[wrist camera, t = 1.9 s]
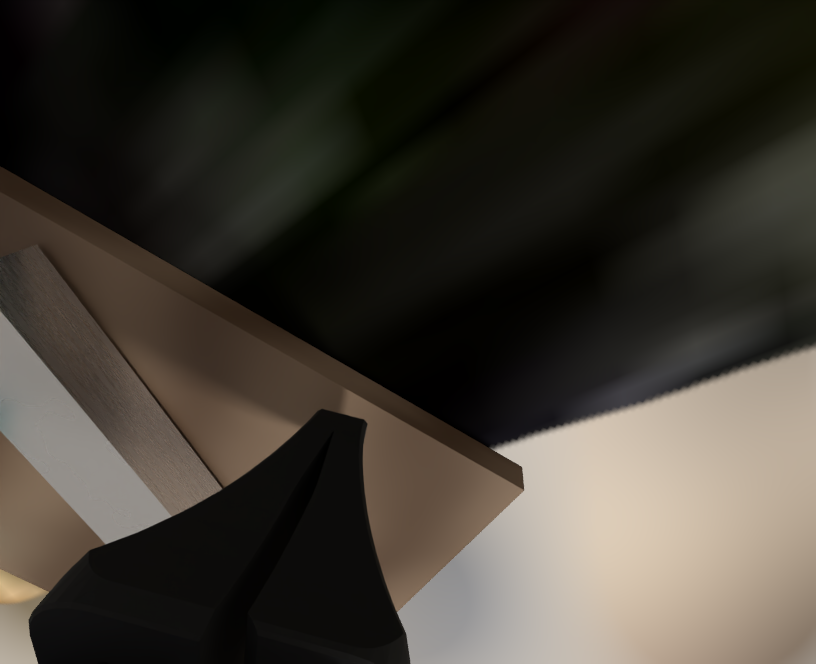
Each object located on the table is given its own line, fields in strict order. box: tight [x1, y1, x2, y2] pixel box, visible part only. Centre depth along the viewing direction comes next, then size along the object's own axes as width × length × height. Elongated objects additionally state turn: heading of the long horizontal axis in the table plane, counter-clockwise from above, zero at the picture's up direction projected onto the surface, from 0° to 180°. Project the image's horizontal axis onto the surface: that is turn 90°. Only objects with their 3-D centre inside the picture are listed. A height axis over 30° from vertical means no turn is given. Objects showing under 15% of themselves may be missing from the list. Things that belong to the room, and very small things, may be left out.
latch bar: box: [0, 244, 222, 544], centre depth 15 cm, size 16×4×3 cm, turn 24°
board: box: [0, 166, 524, 612], centre depth 18 cm, size 21×17×1 cm
